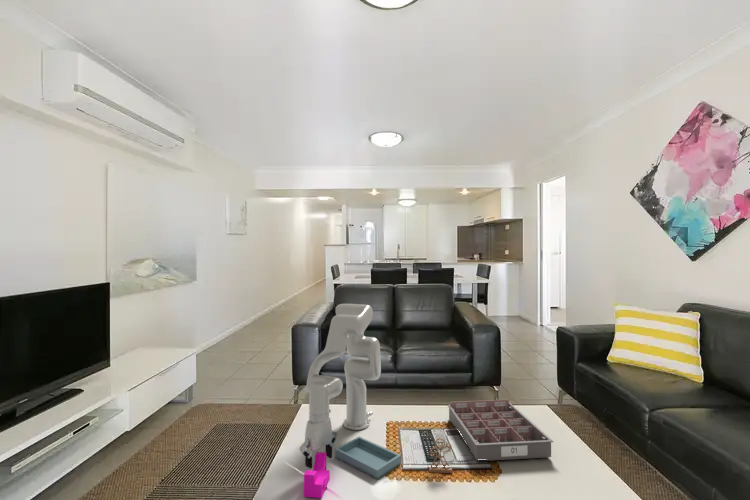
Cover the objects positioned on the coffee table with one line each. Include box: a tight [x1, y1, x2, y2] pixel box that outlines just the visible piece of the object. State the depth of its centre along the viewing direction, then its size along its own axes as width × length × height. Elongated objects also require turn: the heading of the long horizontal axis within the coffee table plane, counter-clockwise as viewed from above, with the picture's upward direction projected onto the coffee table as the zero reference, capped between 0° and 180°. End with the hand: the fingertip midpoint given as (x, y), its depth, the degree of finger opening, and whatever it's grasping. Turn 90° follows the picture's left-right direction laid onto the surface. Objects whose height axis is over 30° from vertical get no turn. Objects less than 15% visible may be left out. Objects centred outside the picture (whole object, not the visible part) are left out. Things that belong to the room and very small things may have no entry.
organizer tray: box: [447, 399, 554, 461], centre depth 171 cm, size 32×40×10 cm
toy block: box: [303, 451, 331, 499], centre depth 138 cm, size 15×6×8 cm, turn 172°
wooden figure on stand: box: [428, 437, 454, 474], centre depth 147 cm, size 9×4×12 cm, turn 86°
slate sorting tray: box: [334, 436, 402, 481], centre depth 153 cm, size 14×23×4 cm, turn 48°
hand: (319, 461), depth 145 cm, fingers open, 9 cm apart
